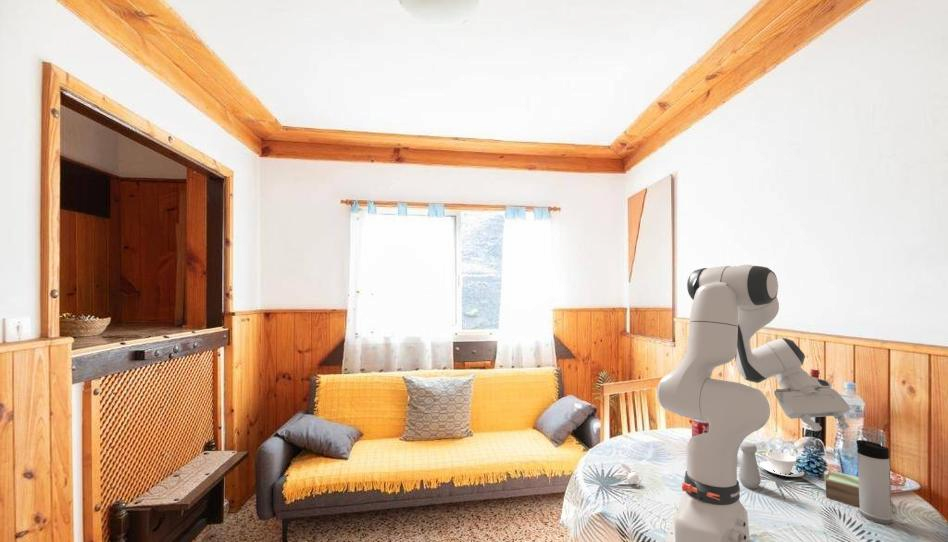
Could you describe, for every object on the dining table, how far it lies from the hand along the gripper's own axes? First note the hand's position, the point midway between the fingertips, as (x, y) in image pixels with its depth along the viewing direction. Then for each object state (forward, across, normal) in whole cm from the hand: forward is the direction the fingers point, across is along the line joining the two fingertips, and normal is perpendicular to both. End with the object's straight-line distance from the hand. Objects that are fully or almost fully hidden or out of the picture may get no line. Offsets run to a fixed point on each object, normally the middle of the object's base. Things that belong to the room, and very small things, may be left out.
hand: (832, 429), depth 122 cm
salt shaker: (+7, -18, +22) cm, 29 cm away
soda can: (-12, -15, +40) cm, 44 cm away
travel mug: (+22, 0, +7) cm, 23 cm away
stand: (+14, +4, +14) cm, 20 cm away
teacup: (+2, 0, +26) cm, 26 cm away
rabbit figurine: (+1, -55, +28) cm, 62 cm away
